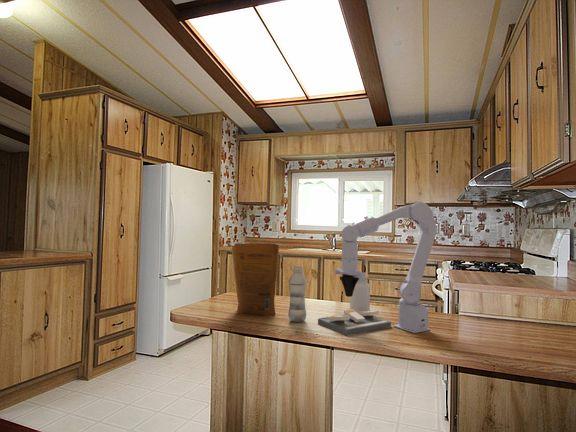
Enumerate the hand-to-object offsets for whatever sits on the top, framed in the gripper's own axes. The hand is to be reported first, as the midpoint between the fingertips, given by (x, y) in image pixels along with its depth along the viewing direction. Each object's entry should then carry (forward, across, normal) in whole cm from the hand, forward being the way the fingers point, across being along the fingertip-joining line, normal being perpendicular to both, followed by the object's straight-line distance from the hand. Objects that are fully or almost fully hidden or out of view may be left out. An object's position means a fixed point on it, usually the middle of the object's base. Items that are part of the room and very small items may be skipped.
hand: (349, 296), depth 134 cm
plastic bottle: (+10, -11, -15) cm, 21 cm away
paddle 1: (+6, +3, -7) cm, 10 cm away
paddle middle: (+6, +3, 0) cm, 7 cm away
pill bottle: (+10, -10, +15) cm, 21 cm away
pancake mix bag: (+10, -29, -23) cm, 39 cm away
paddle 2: (+6, +3, +7) cm, 10 cm away
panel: (+10, +3, 0) cm, 10 cm away
